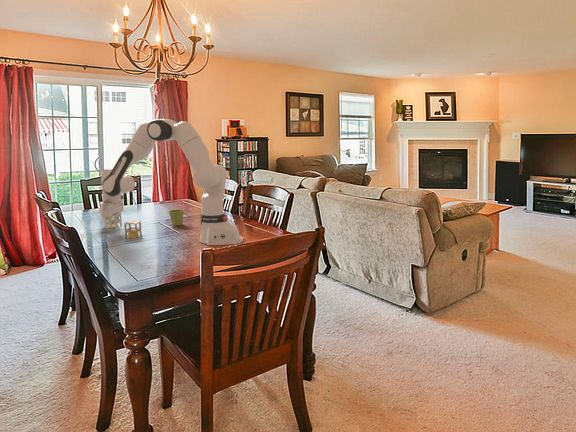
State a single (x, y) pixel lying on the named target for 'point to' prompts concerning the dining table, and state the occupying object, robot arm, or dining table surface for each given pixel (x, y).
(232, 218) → the dining table surface
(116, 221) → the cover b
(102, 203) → the jar
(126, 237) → the tan square stool
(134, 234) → the letter block
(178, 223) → the plant pot
